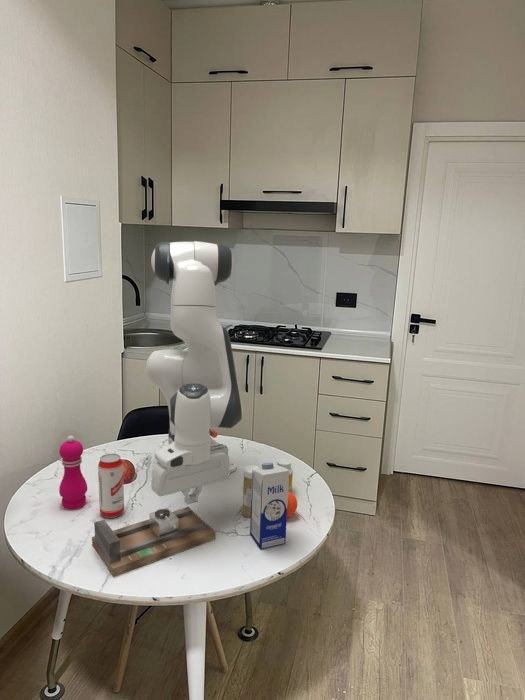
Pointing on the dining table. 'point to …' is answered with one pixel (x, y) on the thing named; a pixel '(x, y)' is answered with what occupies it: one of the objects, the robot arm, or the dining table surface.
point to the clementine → (291, 504)
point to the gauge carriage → (163, 522)
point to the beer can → (111, 485)
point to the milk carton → (269, 505)
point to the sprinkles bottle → (247, 489)
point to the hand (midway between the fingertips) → (191, 502)
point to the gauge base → (147, 541)
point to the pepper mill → (72, 475)
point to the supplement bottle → (287, 464)
